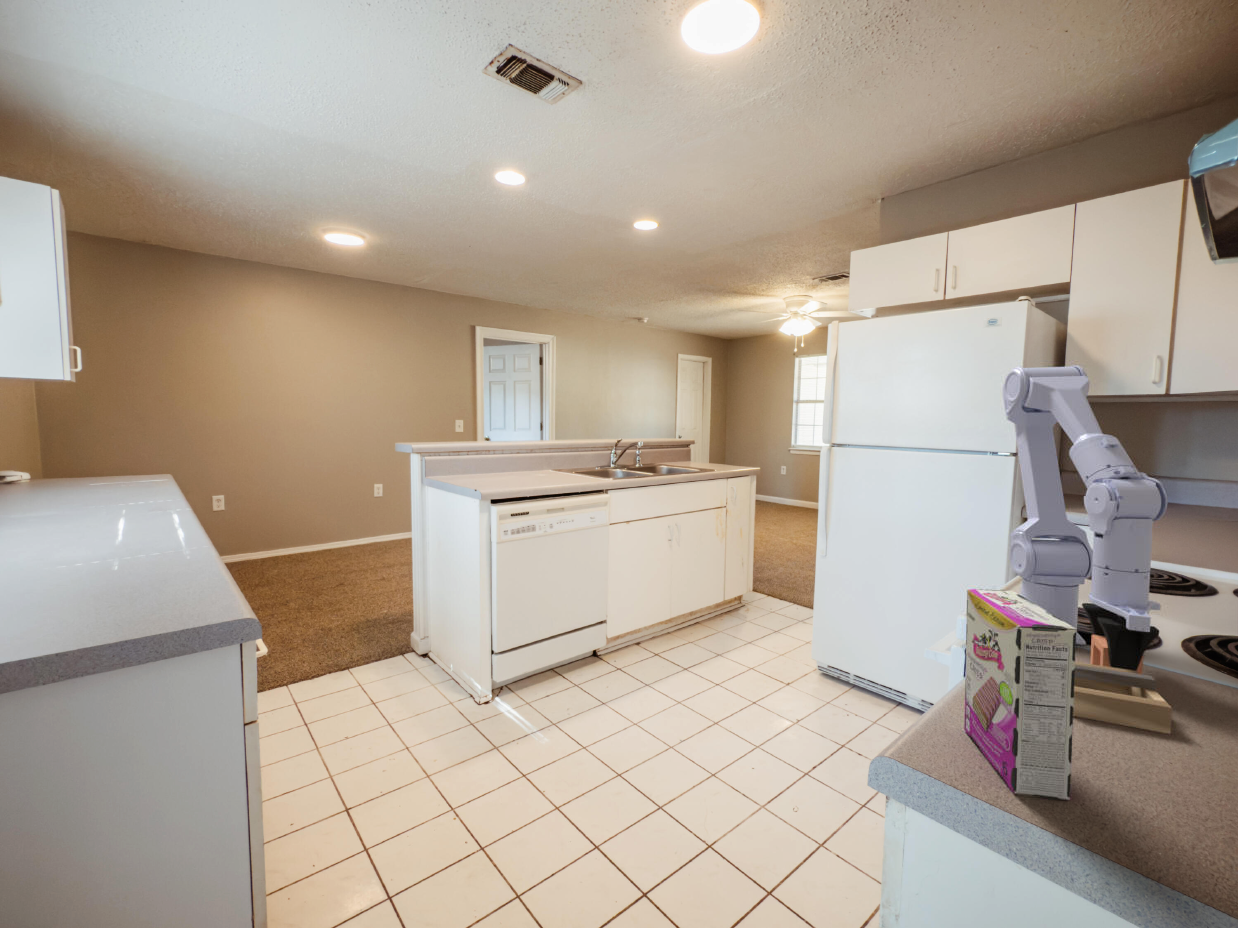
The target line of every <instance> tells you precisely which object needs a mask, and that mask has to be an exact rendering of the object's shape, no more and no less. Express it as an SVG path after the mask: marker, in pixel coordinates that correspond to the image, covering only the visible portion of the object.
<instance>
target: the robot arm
mask: <svg viewBox="0 0 1238 928" xmlns="http://www.w3.org/2000/svg"><path fill="white" fill-rule="evenodd" d="M1088 377H1089V376H1088V374H1087V373H1086V370H1085V369H1084V367H1082V366H1079V365H1070V366H1053V367H1052V366H1050V367H1049V366H1047V367H1044V366H1043V367H1021V366H1017V367H1014V368H1012V369H1011V370H1010V371H1009V373H1008V374H1007V375H1006V377H1005V380H1004V384H1003V385H1002V398H1003V405H1004V406H1003V407H1004V412H1005V416H1006V420H1007V421H1008V422H1011V423H1013V424H1014V425H1013V426H1014V432H1015V433H1014V434H1015V440H1016V446H1017V452H1018V453H1017V454H1018V460H1019V467H1020V474H1021V483H1022V488H1023V489H1022V490H1023V495H1024V503H1025V508H1026V509H1025V510H1026V517H1027V518H1026V519H1027V520H1026V521H1025V522H1023V523H1022V524H1021V525H1019V526H1018V527H1017V528H1015V529H1014V530H1013V531H1012V532H1011V533H1010V548H1009V562H1010V566H1011V568H1012V569H1013V571H1014V573H1016V575H1017V576H1018V577H1020V578H1022V579H1021V584H1020V587H1019V589H1020V590H1019V595H1021V596H1023V597H1024V598H1026V599H1027V600H1029V601H1031V602H1032V603H1034V604H1036V605H1037V606H1039V607H1041V608H1042V609H1044V610H1046V611H1047V612H1049V613H1051V614H1052V615H1054V616H1056V617H1057V618H1059V619H1061V620H1062V621H1064V622H1066V623H1067V624H1069V625H1071V626H1072V627H1074V628H1076V629H1077V630H1078V617H1079V616H1078V615H1079V614H1078V611H1079V593H1080V585H1085V580H1086V579H1089V578H1090V577H1091V581H1090V582H1091V586H1090V592H1089V594H1088V602H1089V603H1088V602H1083V603H1082V604H1081V606H1082V608H1083V610H1084V612H1085V613H1086V616H1087V618H1088V621H1089V622H1090V626H1091V630H1092V635H1099V636H1105V637H1106V641H1107V645H1108V653H1109V661H1110V666H1111V667H1113V668H1120V669H1126V670H1133V671H1137V669H1138V666H1139V664H1140V661H1141V659H1142V656H1143V657H1144V655H1143V654H1145V652H1146V650H1147V648H1148V647H1149V646H1150V645H1151V644H1152V642H1153V641H1155V639H1157V638H1158V637H1159V635H1160V630H1159V628H1157V627H1155V626H1153V625H1151V620H1152V619H1151V618H1152V617H1151V616H1150V615H1149V614H1150V612H1151V611H1161V607H1162V605H1161V604H1160V603H1158V602H1157V601H1155V600H1149V599H1150V598H1149V597H1150V582H1151V581H1150V580H1151V563H1152V549H1153V547H1152V545H1153V528H1154V527H1153V526H1154V522H1157V521H1159V520H1161V519H1162V518H1163V516H1164V515H1165V513H1166V511H1167V508H1168V495H1167V492H1166V490H1165V488H1164V485H1163V484H1162V482H1161V481H1160V480H1158V479H1156V478H1153V477H1150V476H1148V474H1147V473H1145V472H1140V471H1139V470H1138V469H1137V468H1136V467H1137V466H1135V465H1134V463H1133V461H1132V459H1131V458H1130V457H1129V455H1128V453H1127V451H1126V450H1125V448H1124V446H1123V445H1122V443H1121V442H1120V441H1119V439H1118V438H1117V437H1116V436H1114V435H1110V434H1104V433H1103V431H1102V429H1101V426H1100V424H1099V422H1098V420H1097V418H1096V416H1095V414H1094V412H1093V409H1092V408H1091V407H1092V406H1091V405H1090V403H1089V401H1088V398H1087V396H1088V395H1089V390H1090V384H1091V382H1090V381H1091V380H1090V378H1088ZM1057 423H1059V426H1060V427H1061V428H1062V429H1063V431H1064V432H1065V434H1066V435H1067V436H1068V438H1069V439H1070V440H1071V442H1072V444H1073V445H1072V446H1071V447H1070V449H1069V451H1068V455H1069V458H1070V460H1071V461H1072V463H1073V465H1074V467H1075V468H1076V470H1077V472H1078V474H1079V476H1080V477H1081V479H1082V480H1081V481H1083V483H1084V486H1085V487H1086V489H1087V490H1086V492H1085V495H1084V496H1083V504H1084V509H1085V511H1086V513H1087V516H1088V527H1089V530H1090V531H1092V532H1093V538H1092V539H1093V543H1092V547H1091V544H1090V543H1089V540H1088V535H1087V532H1086V531H1085V530H1084V529H1083V528H1081V527H1079V526H1078V525H1076V524H1074V522H1072V521H1070V520H1069V519H1068V517H1067V511H1066V510H1067V509H1066V503H1065V499H1064V492H1063V487H1062V480H1061V473H1060V467H1059V461H1058V455H1057V448H1056V443H1055V441H1056V440H1055V437H1054V431H1053V428H1054V426H1055V424H1057ZM1076 645H1080V646H1085V645H1087V642H1086V641H1085V639H1084V638H1083V637H1082V636H1081V635H1080V634H1079V633H1078V631H1077V632H1076Z"/></svg>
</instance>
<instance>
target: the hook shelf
mask: <svg viewBox="0 0 1238 928" xmlns="http://www.w3.org/2000/svg"><path fill="white" fill-rule="evenodd" d="M1156 682H1157V681H1156V679H1155V678H1154V677H1153V676H1152V675H1147V674H1142V675H1140V674H1139V673H1138V672H1137V671H1133V670H1126V669H1120V668H1113V667H1106V666H1100V665H1093V664H1090V663H1084V662H1079V661H1075V684H1074V706H1073V707H1074V710H1073V711H1074V712H1073V717H1078V718H1081V719H1082V718H1083V719H1089V720H1093V721H1094V720H1095V721H1099V722H1103V723H1104V722H1105V723H1108V724H1109V723H1110V724H1116V725H1121V726H1124V727H1131V728H1137V729H1143V730H1147V731H1148V730H1149V731H1151V732H1157V733H1163V734H1168V735H1171V732H1172V730H1171V729H1172V728H1171V727H1172V713H1173V711H1172V710H1173V708H1172V706H1171V705H1170V704H1169V703H1168V702H1167V701H1166V700H1165V699H1164V697H1162V696H1161V695H1160V693H1158V692H1157V691H1156Z"/></svg>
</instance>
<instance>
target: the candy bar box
mask: <svg viewBox="0 0 1238 928" xmlns="http://www.w3.org/2000/svg"><path fill="white" fill-rule="evenodd" d="M1076 632H1078V628H1077V629H1076V628H1074V627H1072V626H1071V625H1069V624H1067V623H1066V622H1064V621H1062V620H1061V619H1059V618H1057V617H1056V616H1054V615H1052V614H1051V613H1049V612H1047V611H1046V610H1044V609H1042V608H1041V607H1039V606H1037V605H1036V604H1034V603H1032V602H1031V601H1029V600H1027V599H1026V598H1024V597H1023V596H1021V595H1020V593H1018V592H1016V591H1013V590H1003V589H1002V590H1001V589H1000V590H999V589H983V588H982V589H980V588H973V589H972V588H971V589H967V590H966V634H965V635H966V636H965V637H966V642H965V687H964V688H965V691H964V693H965V695H964V725H963V726H964V727H963V729H964V731H965V732H966V733H967V735H968V736H969V738H970V739H971V740H972V741H973V742H974V744H975V745H976V746H977V747H978V749H979V751H981V752H982V754H983V755H984V756H985V758H986V759H987V760H988V762H989V763H990V764H991V765H992V767H993V769H994V770H995V771H996V772H997V773H998V774H999V776H1000V777H1001V778H1002V780H1003V781H1004V783H1005V784H1006V785H1007V786H1008V788H1009V789H1010V790H1011V792H1012V793H1013V794H1015V795H1018V796H1024V797H1031V798H1032V797H1033V798H1034V797H1035V798H1044V799H1054V800H1061V801H1062V800H1063V801H1070V800H1071V783H1072V781H1071V780H1072V760H1073V759H1072V755H1073V730H1074V729H1073V728H1074V716H1073V712H1074V711H1073V710H1074V707H1073V706H1074V684H1075V662H1076V648H1077V647H1076V645H1077V644H1076Z"/></svg>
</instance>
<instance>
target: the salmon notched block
mask: <svg viewBox="0 0 1238 928" xmlns="http://www.w3.org/2000/svg"><path fill="white" fill-rule="evenodd" d="M1090 642H1091V644H1090V662H1089V664H1093V665H1100V666H1106V667H1111V666H1110V661H1109V653H1108V645H1107V641H1106V637H1105V636H1099V635H1094V634H1091V641H1090ZM1144 654H1145V653H1144ZM1144 654H1143V656H1142V659H1141V661H1140V664H1139V666H1138V669H1137V672H1138V673H1139V674H1140V675H1144V674H1143V673H1144V672H1143V670H1144Z"/></svg>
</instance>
